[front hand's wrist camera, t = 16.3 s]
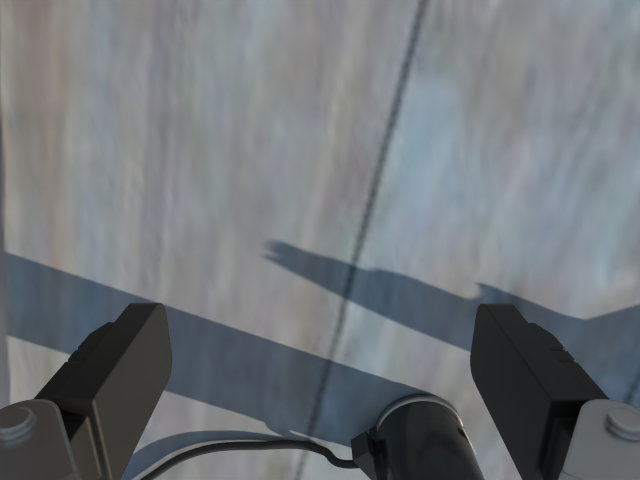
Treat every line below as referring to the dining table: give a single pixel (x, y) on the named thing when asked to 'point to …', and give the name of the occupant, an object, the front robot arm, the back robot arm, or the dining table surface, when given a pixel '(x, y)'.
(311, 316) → the dining table surface
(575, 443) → the front robot arm
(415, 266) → the dining table surface
